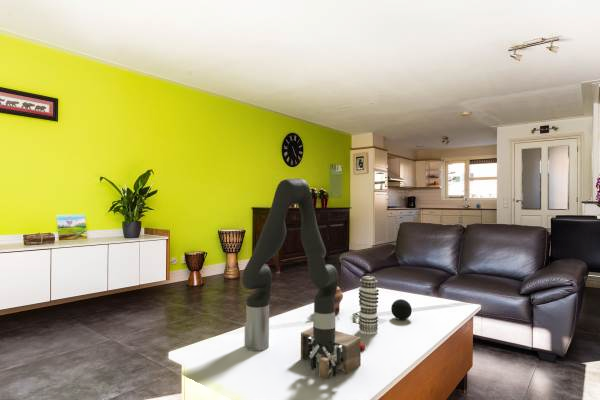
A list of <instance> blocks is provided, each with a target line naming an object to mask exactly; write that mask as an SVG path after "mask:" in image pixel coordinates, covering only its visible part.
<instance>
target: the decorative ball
mask: <svg viewBox="0 0 600 400" xmlns="http://www.w3.org/2000/svg"><path fill="white" fill-rule="evenodd" d="M390 311H391V313H392V315H393V317H394V318H395V319H397V320H400V321H404V320H407V319H409V318H410V317H411V315H412V306H411V304H410V303H409V301H407V300H405V299H402V298H401V299H396V300H395V301H393V303H392V304H391V310H390Z"/></svg>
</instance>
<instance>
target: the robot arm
mask: <svg viewBox="0 0 600 400" xmlns="http://www.w3.org/2000/svg"><path fill="white" fill-rule="evenodd" d="M294 205H297V207H298V209H299V212H300V215H301V226H300V240H301V244H302V246H303V247H302V248H303V249H304V253H305V255H306V257H307V258H306V259H307V269H308V270H307V271H308V276H309V279H310V281H311V283H312V284H313V285H314V286H315V287H316V288H317V289H318V290H317V291H318V292H317V293H316V294H315V295H314V299H313V309H314V310H313V317H312V320H313V321H312V322H313V323H312V324H313V326H312V327H313V337H312V336H310V337H308V338H306V351H305V354H306V355H309V360H310V361H309V362H310V363H309V365H310V368H311V370H315V369H317V362H318V361H317V357H316V355H317V354H318V353H319V354H322V355H324V356H327V357H328V359H329V360H330V361H331V363H330V364H331V368H332V371H331V377H333V378H335V377H337V376H338V375H339V369H338V366H340V365H341V364H343V363H344V351H343V345H340V346H338V345H335V331H336V314H335V295H336V290H337V287H338V285H339V284H338V283H339V273H338V270H337V269H336V267H335V266H334V265H333V264H326V261H325V257H326V256H327V250H326V247H325V243H324V240H323V238H322V235H321V233H320V229H319V227H318V222H317V217H316V213H315V207H314V203H313V198H312V193H311V189H310V186H309V183H308V182H307V181H306V180H305V179H303V178H286V179H283V180H281V181H280V182H279V183H278V184H277V187H276V189H275V192H274V195H273V199H272V203H271V207H270V210H269V213H268V216H267V218H266V221H265V223H264V225H263V227H262V230H261V232H260V235H259V238H258V241H257V242H256V245H255V248H254V250H253V252H252V254H251V256H250V258H249V260H248V262H247V264H246V265H245V267H244V269H243V272H242V275H241V277H242V278H241V281H242V286H243V287H244V288H245V289H247V290H255V291H254V292H253V293H252V294H250V295H249V296H247V298H246V311H245V312H246V318H245V319H246V321H245V322H244V347H246V349H247V350H249V351H252V352H253V351H255V352H256V351H257V352H258V351H259V352H260V351H263V350H267V349H268V348H269V346H270V343H269V342H270V341H269V340H270V300H271V294H272V293H271V292H272V271H271V269H270V267H269V266H268V265H267V264H266V263H267V262H268V261H270V260H271V259H272V258H273V257H274V256H275V255H276V254H277V253H278V252H279V251H280V250H281V248H282V246H283V244H284V241H285V239H286V237H287V226H286V222H285V221H286V220H285V219H286V215H287V213H288V211H289V209H290V207H291V206H294ZM313 344H314V346H315V348H314V350H313V351H312V347H313ZM334 349H335V350H336V351H335V350H334ZM331 353H332V356H331V355H330V354H331ZM336 353H337V354H336Z"/></svg>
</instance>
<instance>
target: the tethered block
mask: <svg viewBox="0 0 600 400" xmlns="http://www.w3.org/2000/svg"><path fill="white" fill-rule="evenodd" d="M335 351H336V350H335ZM343 351H344V349H343ZM336 354H337V353H336ZM318 363H319V364H318V365H319V366H318V368H319V370H318V371H319V372H318V373H319V374H318V377H319V379H320V380H328V379H329V377H330V373H332V367H331V368H330V367H329V366H330V363H329V359H328V358H325V357H322V358H320V359H319V362H318ZM338 370H342V371H344V363H343V364H341V365H340V366H338Z"/></svg>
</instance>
